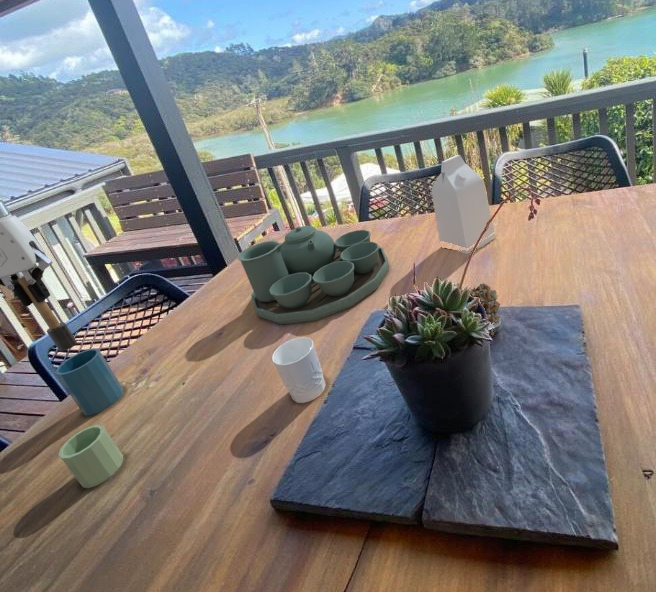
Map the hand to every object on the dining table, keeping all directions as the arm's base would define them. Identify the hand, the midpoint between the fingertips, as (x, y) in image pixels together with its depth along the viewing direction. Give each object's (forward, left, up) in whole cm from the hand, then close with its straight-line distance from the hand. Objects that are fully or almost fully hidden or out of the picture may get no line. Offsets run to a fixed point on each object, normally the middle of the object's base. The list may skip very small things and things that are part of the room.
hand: (37, 300), depth 86 cm
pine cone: (+79, +24, -28) cm, 88 cm away
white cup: (+49, +9, -28) cm, 57 cm away
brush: (0, 0, -12) cm, 12 cm away
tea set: (+29, +49, -28) cm, 64 cm away
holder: (+19, -14, -28) cm, 36 cm away
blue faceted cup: (-1, 0, -28) cm, 28 cm away
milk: (+67, +71, -28) cm, 102 cm away
